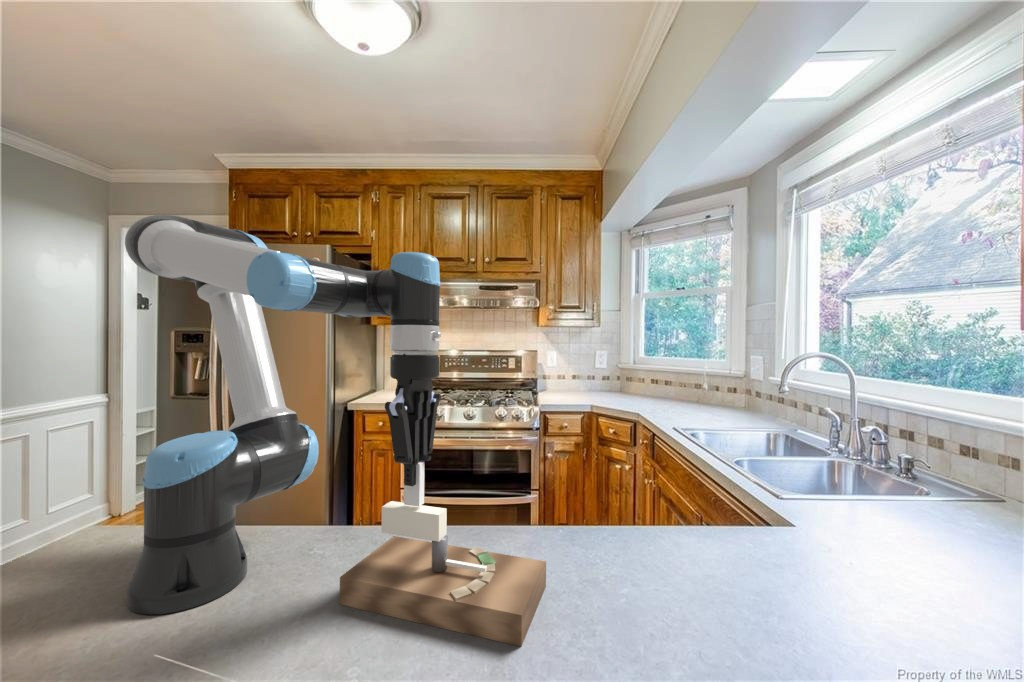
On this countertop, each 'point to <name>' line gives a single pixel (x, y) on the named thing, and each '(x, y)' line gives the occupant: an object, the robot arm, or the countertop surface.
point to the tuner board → (448, 589)
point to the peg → (423, 531)
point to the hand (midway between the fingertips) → (414, 503)
